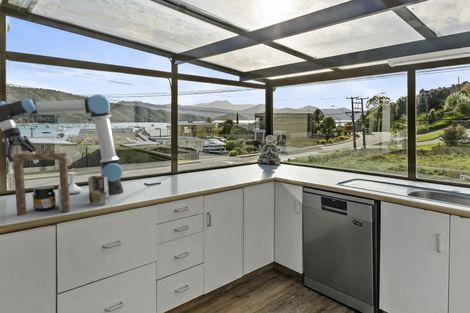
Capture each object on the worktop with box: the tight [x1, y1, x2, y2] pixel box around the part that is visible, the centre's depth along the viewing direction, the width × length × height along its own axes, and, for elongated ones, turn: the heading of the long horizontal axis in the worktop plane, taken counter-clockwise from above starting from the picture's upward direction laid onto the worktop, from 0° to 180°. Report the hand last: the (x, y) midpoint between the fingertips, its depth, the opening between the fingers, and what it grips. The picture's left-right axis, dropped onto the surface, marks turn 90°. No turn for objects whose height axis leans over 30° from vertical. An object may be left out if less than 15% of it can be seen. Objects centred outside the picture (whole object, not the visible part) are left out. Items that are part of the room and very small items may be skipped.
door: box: [57, 184, 62, 212], centre depth 166 cm, size 15×3×12 cm, turn 27°
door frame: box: [12, 152, 71, 216], centre depth 156 cm, size 24×3×31 cm, turn 104°
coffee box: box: [87, 175, 110, 206], centre depth 176 cm, size 9×6×16 cm
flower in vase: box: [67, 156, 83, 195], centre depth 203 cm, size 13×11×25 cm
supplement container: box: [32, 185, 57, 212], centre depth 164 cm, size 10×10×12 cm
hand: (26, 164), depth 168 cm, fingers open, 13 cm apart
